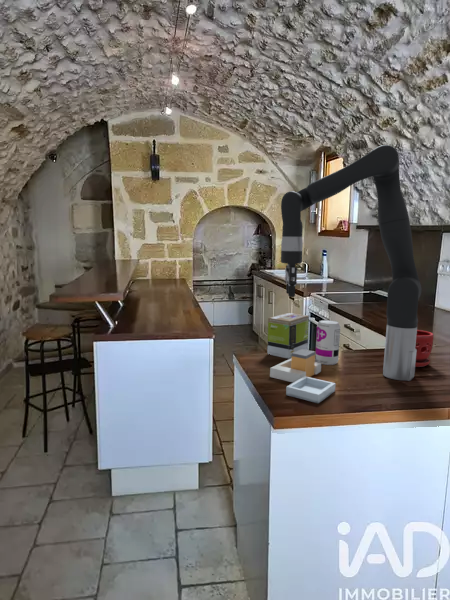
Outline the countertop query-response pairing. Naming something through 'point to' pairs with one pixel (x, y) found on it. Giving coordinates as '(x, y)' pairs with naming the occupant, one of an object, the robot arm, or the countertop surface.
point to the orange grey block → (304, 361)
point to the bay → (290, 371)
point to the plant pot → (423, 347)
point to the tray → (310, 389)
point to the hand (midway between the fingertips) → (290, 295)
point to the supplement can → (327, 342)
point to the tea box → (287, 334)
